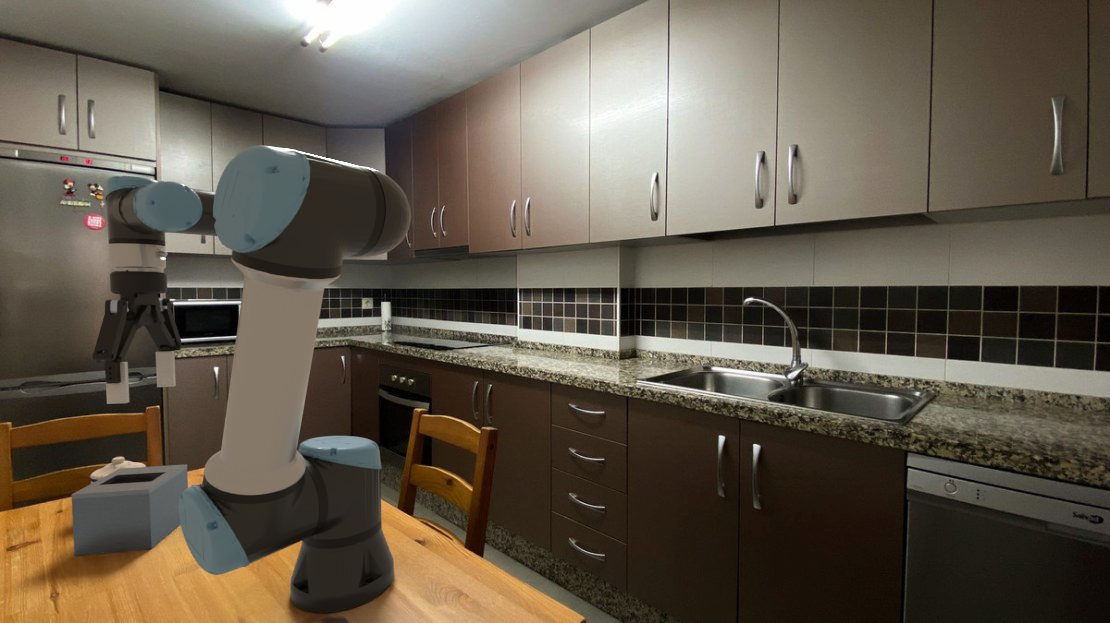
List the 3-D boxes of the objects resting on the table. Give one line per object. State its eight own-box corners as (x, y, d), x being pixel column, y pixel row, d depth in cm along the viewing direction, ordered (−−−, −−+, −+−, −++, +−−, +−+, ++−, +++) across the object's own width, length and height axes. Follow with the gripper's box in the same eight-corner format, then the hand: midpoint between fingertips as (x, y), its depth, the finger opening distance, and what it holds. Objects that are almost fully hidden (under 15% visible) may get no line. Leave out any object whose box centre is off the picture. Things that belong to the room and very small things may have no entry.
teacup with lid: (157, 507, 109) (155, 454, 108) (106, 526, 100) (103, 468, 100) (125, 498, 114) (123, 447, 113) (73, 515, 105) (71, 460, 105)
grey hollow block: (151, 549, 91) (149, 489, 91) (74, 555, 89) (71, 494, 89) (189, 517, 104) (187, 464, 104) (122, 522, 102) (120, 468, 101)
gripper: (115, 268, 75) (121, 410, 76) (199, 272, 99) (203, 380, 100) (56, 267, 73) (63, 412, 74) (156, 272, 98) (161, 381, 99)
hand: (144, 394), depth 87 cm, fingers open, 13 cm apart
